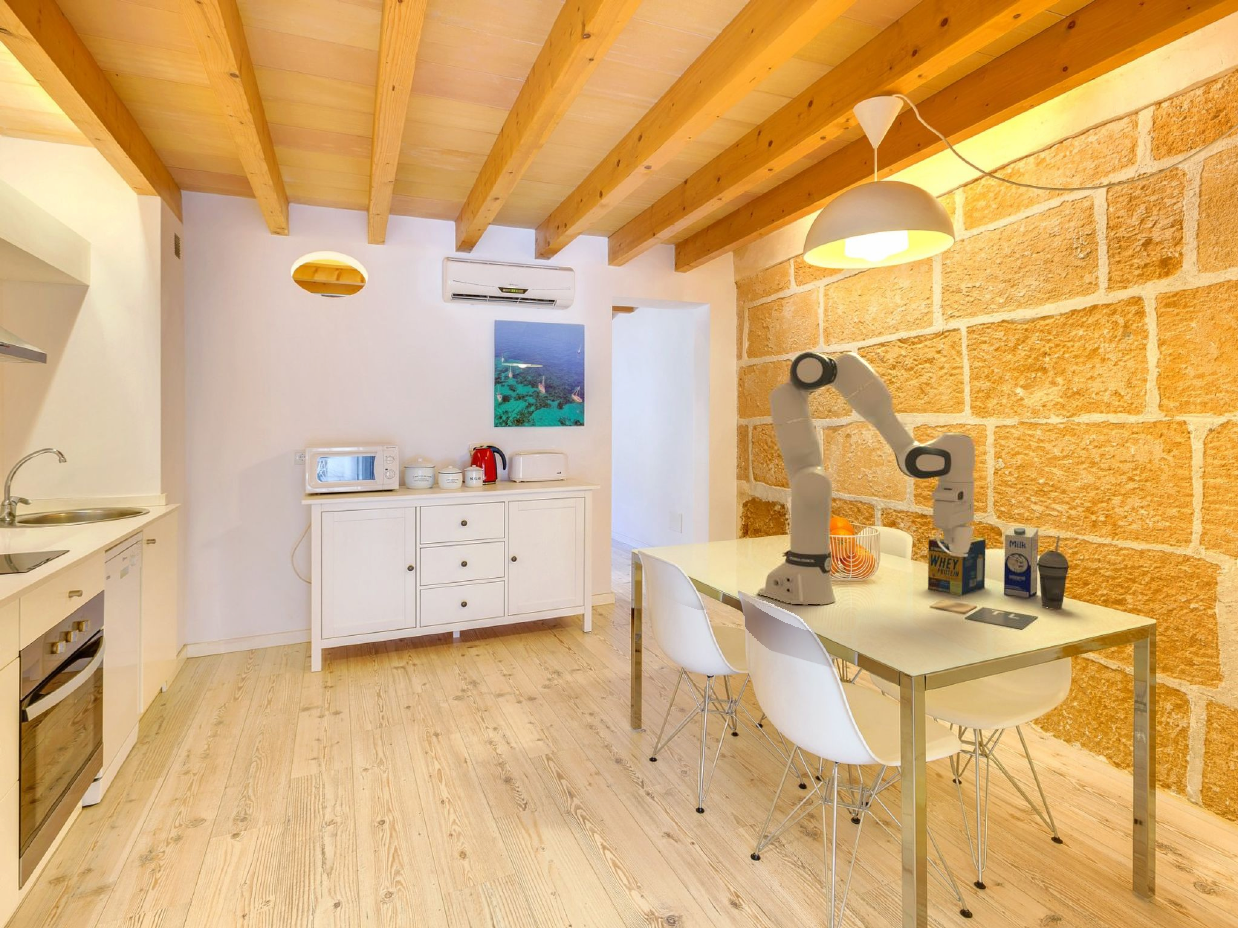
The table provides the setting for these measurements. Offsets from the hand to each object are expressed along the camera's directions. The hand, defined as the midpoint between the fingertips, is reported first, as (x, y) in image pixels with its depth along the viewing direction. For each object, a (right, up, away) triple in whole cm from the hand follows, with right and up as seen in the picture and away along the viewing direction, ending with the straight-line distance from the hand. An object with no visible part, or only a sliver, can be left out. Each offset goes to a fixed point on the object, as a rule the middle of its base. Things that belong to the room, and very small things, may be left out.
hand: (953, 541), depth 177 cm
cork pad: (0, -18, +1) cm, 18 cm away
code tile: (+8, -19, -9) cm, 22 cm away
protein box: (+12, -17, +22) cm, 31 cm away
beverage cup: (+27, -18, 0) cm, 33 cm away
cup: (0, -4, 0) cm, 4 cm away
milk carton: (+27, -18, +14) cm, 35 cm away
